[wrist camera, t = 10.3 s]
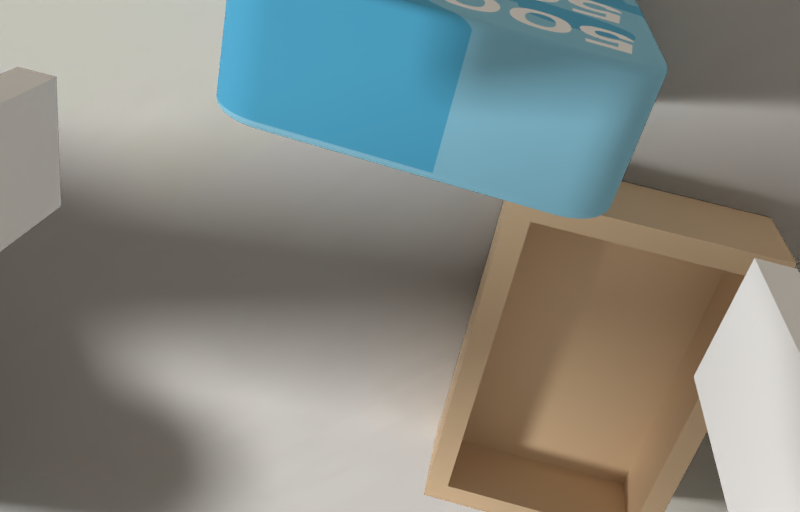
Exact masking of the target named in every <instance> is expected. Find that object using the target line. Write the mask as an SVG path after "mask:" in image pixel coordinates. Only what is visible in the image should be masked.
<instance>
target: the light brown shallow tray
mask: <svg viewBox="0 0 800 512" xmlns="http://www.w3.org/2000/svg"><path fill="white" fill-rule="evenodd" d="M754 258H757V259H761V260H765V261H769V262H773V263H776V264H780V265H784V266H788V267H792V268H795V267H796V265H797V263H796V261H795V260H794V258H793V256H792V254H791V252H790V251H789V249H788V247H787V245H786V244H785V242H784V240H783V238H782V236H781V235H780V233H779V231H778V229H777V228H776V226H775V224H774V222H773V221H772V219H771V218H769V217H765V216H761V215H757V214H753V213H749V212H745V211H741V210H737V209H733V208H729V207H724V206H720V205H716V204H712V203H708V202H704V201H700V200H696V199H692V198H688V197H684V196H680V195H676V194H672V193H667V192H663V191H659V190H655V189H651V188H647V187H643V186H639V185H635V184H631V183H627V182H623V181H621V183H620V186H619V188H618V190H617V193H616V195H615V198H614V200H613V202H612V205H611V207H610V208H609V210H608V211H607V212H605V213H604V214H602V215H600V216H598V217H594V218H588V219H575V218H567V217H562V216H557V215H553V214H550V213H546V212H543V211H540V210H536V209H533V208H529V207H526V206H522V205H519V204H515V203H512V202H508V201H505V200H504V202H503V205H502V209H501V212H500V215H499V219H498V222H497V226H496V229H495V233H494V236H493V240H492V243H491V247H490V250H489V254H488V257H487V261H486V264H485V268H484V271H483V274H482V278H481V281H480V285H479V288H478V292H477V295H476V299H475V302H474V306H473V309H472V313H471V316H470V320H469V323H468V327H467V330H466V333H465V337H464V340H463V344H462V347H461V351H460V354H459V358H458V361H457V365H456V368H455V372H454V375H453V379H452V382H451V386H450V389H449V393H448V396H447V399H446V403H445V406H444V410H443V413H442V417H441V420H440V424H439V427H438V431H437V434H436V438H435V442H434V447H433V452H432V457H431V462H430V467H429V472H428V477H427V482H426V487H425V492H424V495H427V496H431V497H435V498H438V499H442V500H445V501H449V502H453V503H456V504H460V505H464V506H467V507H471V508H475V509H478V510H482V511H485V512H664V511H665V509H666V508H667V506H668V504H669V502H670V500H671V498H672V496H673V494H674V493H675V491H676V489H677V487H678V485H679V483H680V481H681V480H682V478H683V476H684V474H685V472H686V470H687V468H688V466H689V465H690V463H691V461H692V459H693V457H694V455H695V453H696V452H697V450H698V448H699V446H700V444H701V442H702V440H703V438H704V437H705V435H706V433H707V427H706V423H705V419H704V415H703V411H702V407H701V403H700V399H699V396H698V392H697V388H696V384H695V380H694V375H695V373H696V371H697V369H698V367H699V365H700V363H701V361H702V359H703V357H704V355H705V353H706V351H707V349H708V347H709V346H710V344H711V342H712V340H713V338H714V336H715V334H716V332H717V330H718V328H719V326H720V324H721V322H722V320H723V318H724V316H725V314H726V312H727V310H728V309H729V307H730V305H731V303H732V301H733V299H734V297H735V295H736V293H737V291H738V289H739V287H740V285H741V283H742V281H743V279H744V277H745V275H746V274H747V272H748V270H749V268H750V266H751V264H752V262H753V260H754Z"/></svg>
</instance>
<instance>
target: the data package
mask: <svg viewBox="0 0 800 512" xmlns="http://www.w3.org/2000/svg"><path fill="white" fill-rule="evenodd" d="M667 70H668V67H667V63H666V61H665V59H664V57H663V55H662V53H661V51H660V49H659V47H658V45H657V43H656V41H655V39H654V37H653V35H652V32H651V30H650V28H649V26H648V24H647V22H646V20H645V18H644V16H643V14H642V12H641V10H640V8H639V6H638V4H637V2H636V0H227V2H226V12H225V21H224V30H223V40H222V49H221V58H220V68H219V77H218V86H217V102H218V104H219V106H220V108H221V109H222V110H223V111H224V112H225V113H226V114H227V115H228V116H230V117H231V118H233V119H235V120H236V121H238V122H240V123H242V124H245V125H247V126H250V127H253V128H256V129H260V130H263V131H266V132H270V133H273V134H277V135H280V136H284V137H287V138H291V139H294V140H298V141H301V142H305V143H308V144H311V145H315V146H318V147H322V148H325V149H329V150H332V151H336V152H339V153H343V154H346V155H349V156H353V157H356V158H360V159H363V160H367V161H370V162H374V163H377V164H381V165H384V166H387V167H391V168H394V169H398V170H401V171H405V172H408V173H412V174H415V175H419V176H422V177H425V178H429V179H432V180H436V181H439V182H443V183H446V184H450V185H453V186H457V187H460V188H463V189H467V190H470V191H474V192H477V193H481V194H484V195H488V196H491V197H495V198H498V199H501V200H505V201H508V202H512V203H515V204H519V205H522V206H526V207H529V208H533V209H536V210H540V211H543V212H546V213H550V214H553V215H557V216H562V217H567V218H575V219H588V218H594V217H598V216H600V215H602V214H604V213H605V212H607V211H608V210H609V208H610V207H611V205H612V202H613V200H614V198H615V195H616V193H617V190H618V188H619V186H620V183H621V181H622V179H623V176H624V174H625V171H626V169H627V167H628V164H629V162H630V160H631V157H632V155H633V152H634V150H635V148H636V145H637V143H638V141H639V138H640V136H641V134H642V131H643V129H644V126H645V124H646V122H647V119H648V117H649V115H650V112H651V110H652V107H653V105H654V103H655V100H656V98H657V96H658V93H659V91H660V88H661V86H662V84H663V81H664V79H665V77H666V74H667Z"/></svg>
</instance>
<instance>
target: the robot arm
mask: <svg viewBox="0 0 800 512" xmlns="http://www.w3.org/2000/svg"><path fill="white" fill-rule="evenodd" d="M59 207H61V188H60V161H59V133H58V106H57V78H56V77H55V76H51V75H48V74H44V73H40V72H36V71H32V70H28V69H24V68H21V67H16V68H14V69H12V70H9V71H7V72H5V73H2V74H0V252H1V251H2V250H3V249H5V248H6V247H7V246H9V245H10V244H11V243H13V242H14V241H15V240H17V239H18V238H19V237H21V236H22V235H23V234H25V233H26V232H27V231H29V230H30V229H31V228H33V227H34V226H35V225H37V224H38V223H39V222H41V221H42V220H43V219H45V218H46V217H47V216H49V215H50V214H51V213H53V212H54V211H55V210H57V209H58V208H59ZM694 380H695V384H696V388H697V392H698V396H699V399H700V403H701V407H702V411H703V415H704V419H705V423H706V427H707V431H708V435H709V439H710V443H711V447H712V450H713V454H714V458H715V462H716V466H717V470H718V474H719V478H720V482H721V486H722V490H723V494H724V497H725V501H726V505H727V509H728V512H800V272H799V271H798V269H796V268H792V267H788V266H784V265H780V264H776V263H773V262H769V261H765V260H761V259H757V258H754V260H753V262H752V264H751V266H750V268H749V270H748V272H747V274H746V275H745V277H744V279H743V281H742V283H741V285H740V287H739V289H738V291H737V293H736V295H735V297H734V299H733V301H732V303H731V305H730V307H729V309H728V310H727V312H726V314H725V316H724V318H723V320H722V322H721V324H720V326H719V328H718V330H717V332H716V334H715V336H714V338H713V340H712V342H711V344H710V346H709V347H708V349H707V351H706V353H705V355H704V357H703V359H702V361H701V363H700V365H699V367H698V369H697V371H696V373H695V375H694Z"/></svg>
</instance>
